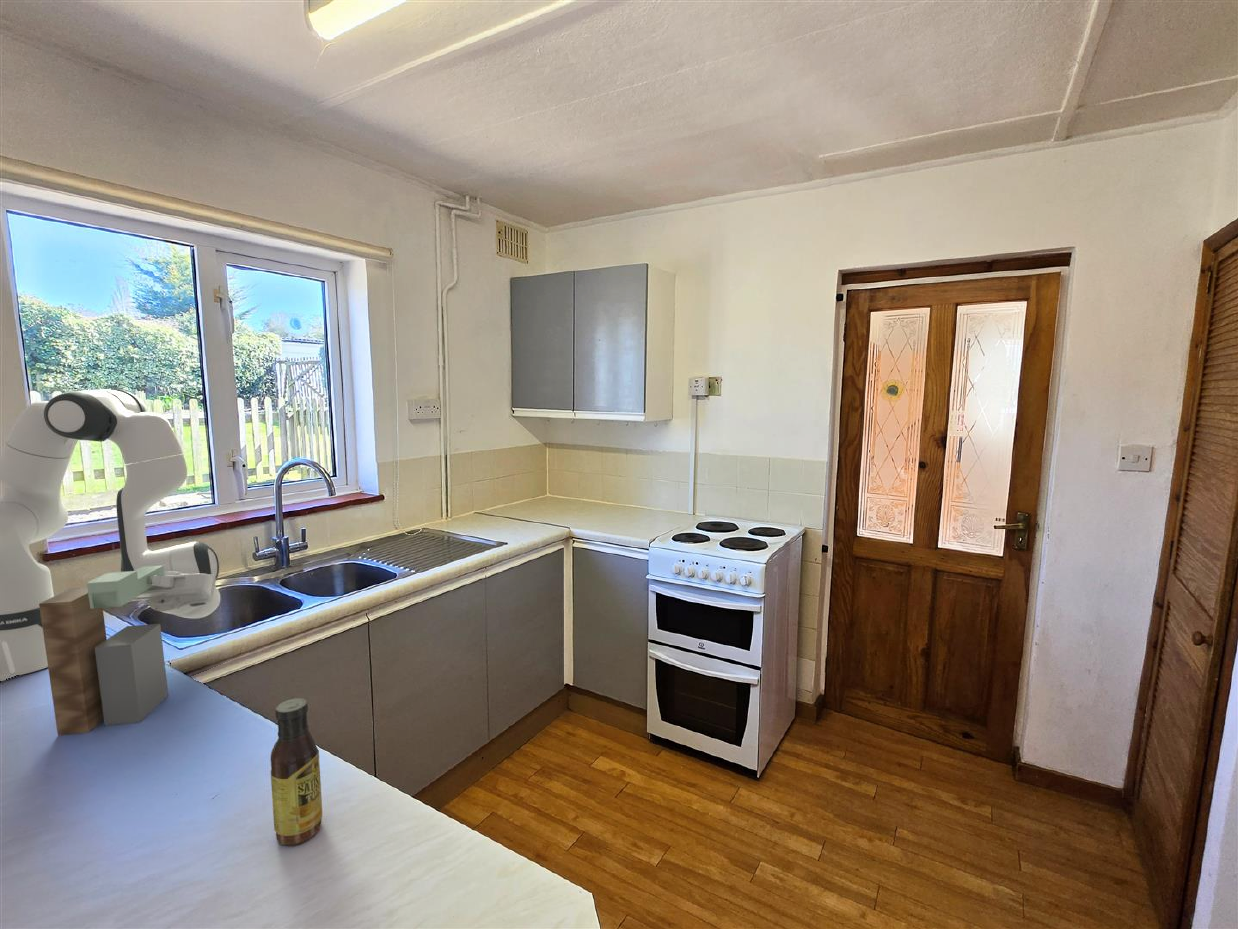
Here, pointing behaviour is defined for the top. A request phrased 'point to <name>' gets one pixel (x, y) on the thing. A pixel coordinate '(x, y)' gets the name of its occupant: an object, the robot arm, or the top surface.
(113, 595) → the green handle
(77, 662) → the walnut stand
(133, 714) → the gray block
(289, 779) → the sauce bottle
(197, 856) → the top surface
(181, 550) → the robot arm
